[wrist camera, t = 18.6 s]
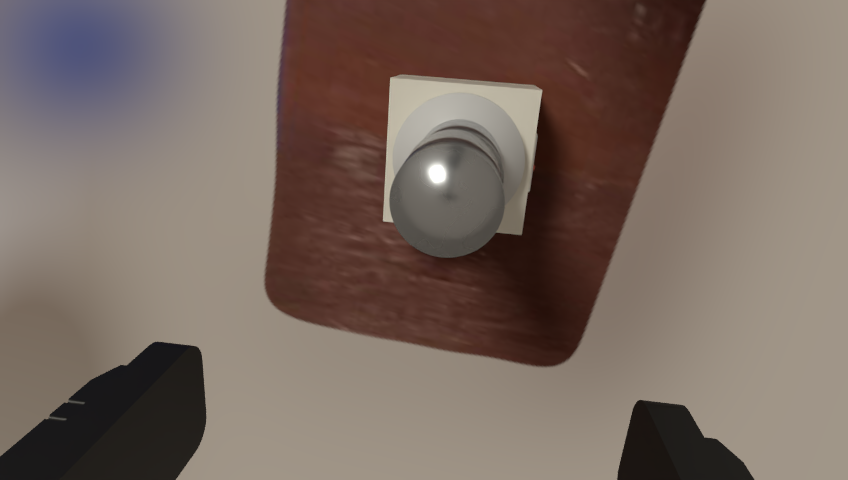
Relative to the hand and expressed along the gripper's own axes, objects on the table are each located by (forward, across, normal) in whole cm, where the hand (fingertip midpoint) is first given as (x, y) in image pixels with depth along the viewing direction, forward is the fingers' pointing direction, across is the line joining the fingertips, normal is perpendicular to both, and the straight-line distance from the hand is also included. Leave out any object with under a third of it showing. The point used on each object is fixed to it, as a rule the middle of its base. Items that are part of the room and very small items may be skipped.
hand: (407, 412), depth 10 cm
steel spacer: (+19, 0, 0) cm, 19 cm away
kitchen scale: (+30, 0, 0) cm, 30 cm away
